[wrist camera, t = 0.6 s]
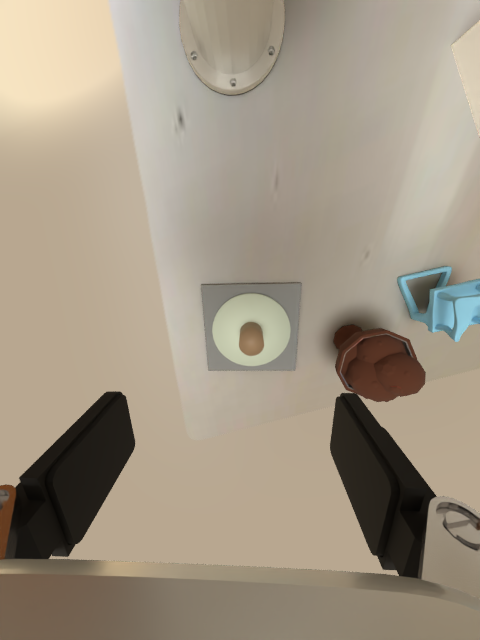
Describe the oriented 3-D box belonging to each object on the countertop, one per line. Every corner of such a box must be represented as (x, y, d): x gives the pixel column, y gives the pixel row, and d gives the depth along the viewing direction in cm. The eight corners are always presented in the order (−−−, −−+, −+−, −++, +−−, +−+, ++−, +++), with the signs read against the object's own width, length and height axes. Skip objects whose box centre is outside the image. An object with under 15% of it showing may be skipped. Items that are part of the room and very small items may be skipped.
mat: (201, 284, 39) (200, 285, 38) (300, 282, 38) (301, 283, 37) (208, 369, 45) (208, 370, 44) (294, 368, 44) (295, 370, 43)
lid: (210, 293, 39) (204, 302, 33) (291, 292, 38) (298, 301, 33) (215, 363, 43) (210, 382, 38) (287, 363, 43) (293, 382, 37)
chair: (397, 322, 40) (455, 355, 29) (397, 276, 37) (461, 294, 26) (444, 312, 39) (523, 343, 28) (447, 265, 36) (536, 278, 25)
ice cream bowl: (337, 301, 39) (387, 337, 25) (392, 324, 40) (470, 371, 26) (308, 351, 42) (337, 407, 28) (359, 371, 43) (412, 435, 29)
